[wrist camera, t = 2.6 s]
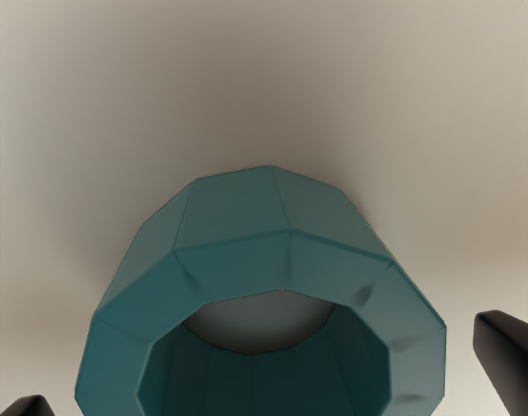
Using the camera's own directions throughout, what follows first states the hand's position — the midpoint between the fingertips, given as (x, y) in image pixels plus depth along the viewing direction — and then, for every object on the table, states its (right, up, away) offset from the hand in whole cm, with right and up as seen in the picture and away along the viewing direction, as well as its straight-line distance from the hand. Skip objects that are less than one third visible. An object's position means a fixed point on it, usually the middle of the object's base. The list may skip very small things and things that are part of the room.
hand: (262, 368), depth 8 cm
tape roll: (0, +1, +3) cm, 3 cm away
